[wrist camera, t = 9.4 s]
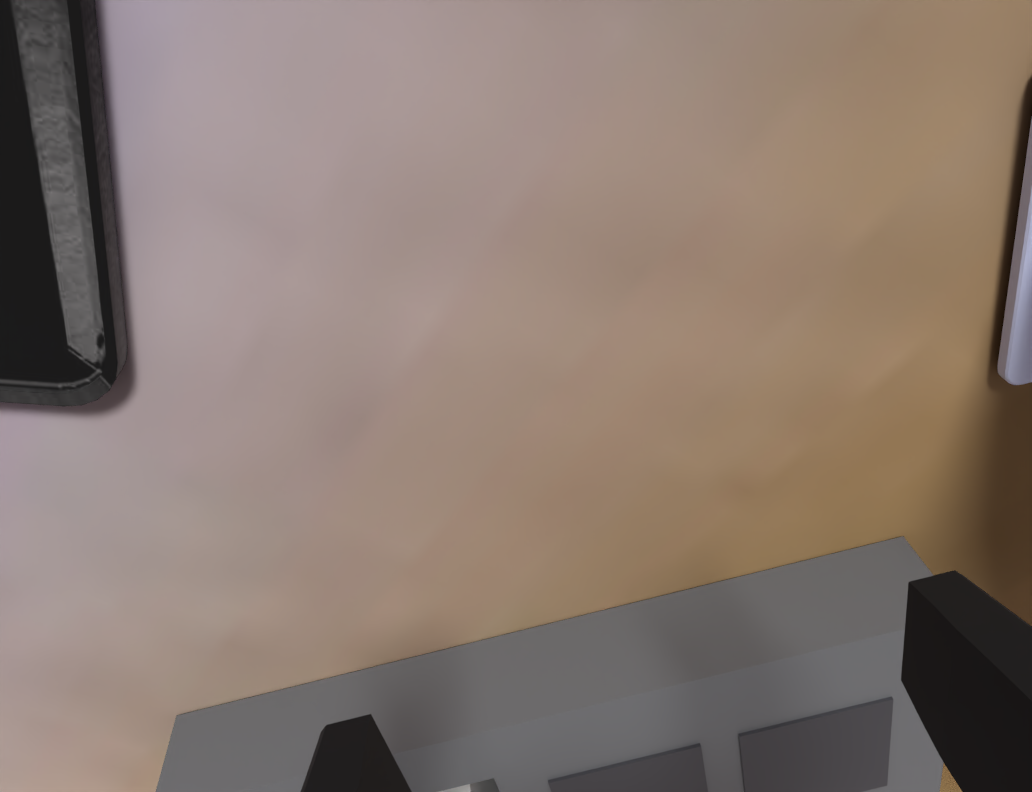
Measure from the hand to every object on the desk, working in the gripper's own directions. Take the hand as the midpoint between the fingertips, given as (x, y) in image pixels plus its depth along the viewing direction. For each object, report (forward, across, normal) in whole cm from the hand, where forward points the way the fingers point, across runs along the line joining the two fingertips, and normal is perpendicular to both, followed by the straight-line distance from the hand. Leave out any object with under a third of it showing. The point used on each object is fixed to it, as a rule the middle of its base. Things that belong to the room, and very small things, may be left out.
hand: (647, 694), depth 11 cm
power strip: (+9, +2, +14) cm, 17 cm away
